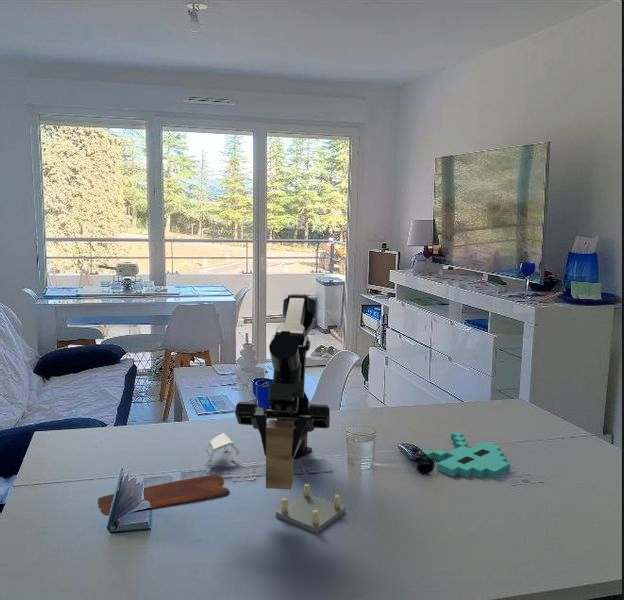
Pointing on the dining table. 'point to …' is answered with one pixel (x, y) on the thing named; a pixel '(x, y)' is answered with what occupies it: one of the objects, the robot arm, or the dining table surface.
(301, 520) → the peg plate
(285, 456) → the walnut shelf block
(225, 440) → the white gabled frame
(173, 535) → the dining table surface
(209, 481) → the wooden tablet
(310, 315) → the robot arm
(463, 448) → the alien figure
